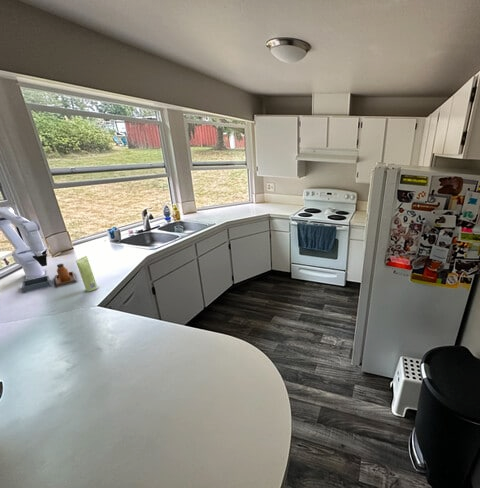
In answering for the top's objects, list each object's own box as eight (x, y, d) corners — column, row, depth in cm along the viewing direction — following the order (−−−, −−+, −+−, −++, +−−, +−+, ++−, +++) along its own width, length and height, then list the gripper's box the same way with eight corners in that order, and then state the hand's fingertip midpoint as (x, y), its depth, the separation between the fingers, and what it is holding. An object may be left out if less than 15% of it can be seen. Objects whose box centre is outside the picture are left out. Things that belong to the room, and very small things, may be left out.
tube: (85, 289, 143) (74, 257, 136) (96, 285, 147) (86, 255, 140) (87, 292, 140) (75, 260, 133) (98, 289, 143) (88, 258, 136)
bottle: (60, 279, 151) (54, 264, 148) (70, 277, 154) (64, 262, 151) (60, 282, 149) (54, 266, 145) (71, 279, 152) (65, 264, 148)
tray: (55, 278, 154) (54, 275, 153) (74, 274, 159) (73, 271, 159) (57, 287, 144) (55, 284, 143) (76, 282, 150) (75, 279, 149)
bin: (24, 286, 144) (22, 281, 143) (50, 280, 151) (48, 275, 150) (24, 293, 137) (21, 287, 136) (51, 286, 145) (48, 281, 143)
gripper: (45, 243, 142) (54, 265, 147) (45, 238, 151) (53, 258, 156) (27, 246, 137) (36, 269, 142) (27, 240, 146) (36, 262, 151)
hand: (44, 264), depth 148 cm, fingers open, 7 cm apart
